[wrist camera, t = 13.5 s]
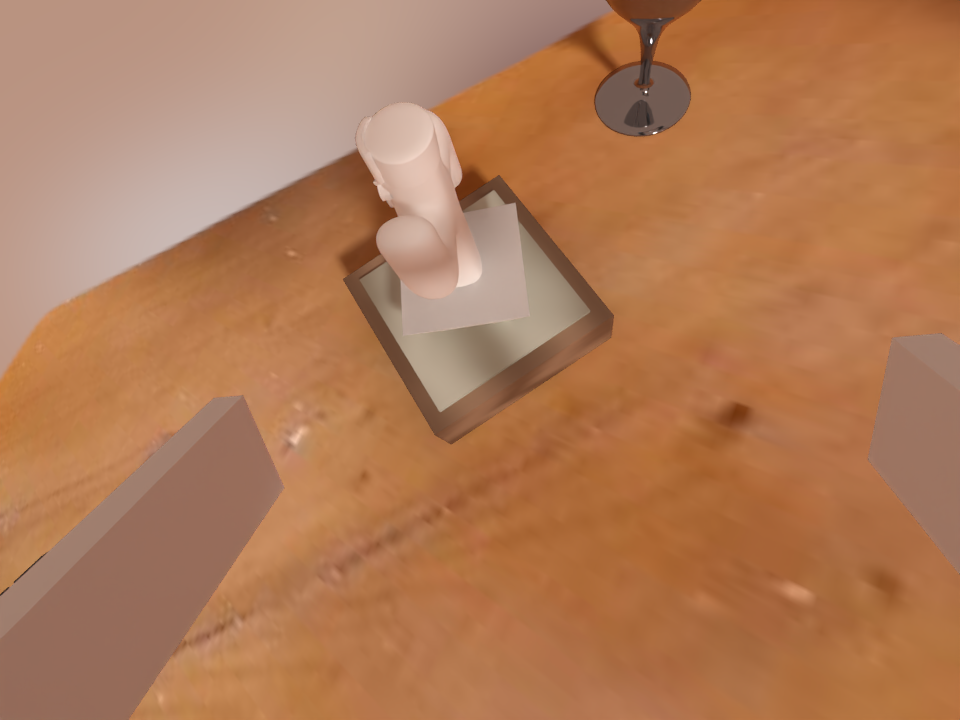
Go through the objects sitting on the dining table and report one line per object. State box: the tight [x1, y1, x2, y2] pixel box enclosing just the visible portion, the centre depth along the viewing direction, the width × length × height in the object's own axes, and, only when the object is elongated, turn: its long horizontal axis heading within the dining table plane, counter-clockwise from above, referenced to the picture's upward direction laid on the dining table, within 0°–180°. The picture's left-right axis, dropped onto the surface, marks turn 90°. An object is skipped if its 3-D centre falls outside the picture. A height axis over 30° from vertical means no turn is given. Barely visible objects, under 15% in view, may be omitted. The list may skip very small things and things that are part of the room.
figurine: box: [355, 102, 530, 336], centre depth 26 cm, size 7×9×15 cm
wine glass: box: [595, 0, 701, 136], centre depth 33 cm, size 8×8×15 cm
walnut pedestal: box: [343, 175, 614, 444], centre depth 36 cm, size 13×13×4 cm
